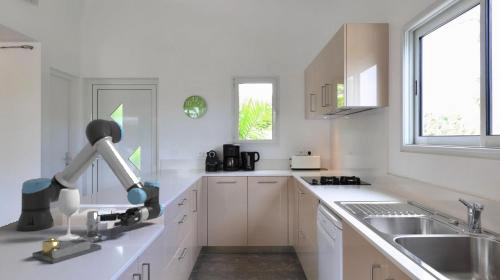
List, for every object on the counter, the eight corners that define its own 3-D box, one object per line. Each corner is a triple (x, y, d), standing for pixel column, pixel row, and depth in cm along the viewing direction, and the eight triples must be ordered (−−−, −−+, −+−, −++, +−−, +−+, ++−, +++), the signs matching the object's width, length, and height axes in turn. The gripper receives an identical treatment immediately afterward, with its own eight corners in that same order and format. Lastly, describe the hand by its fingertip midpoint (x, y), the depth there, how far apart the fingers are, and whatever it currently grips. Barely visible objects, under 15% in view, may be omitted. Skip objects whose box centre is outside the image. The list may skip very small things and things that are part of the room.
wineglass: (69, 241, 132) (70, 190, 132) (51, 240, 133) (52, 190, 134) (84, 236, 140) (85, 188, 141) (67, 235, 142) (68, 187, 142)
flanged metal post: (79, 241, 132) (79, 212, 132) (94, 237, 138) (94, 209, 138) (89, 244, 129) (90, 214, 129) (105, 239, 135) (105, 211, 135)
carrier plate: (31, 256, 113) (31, 238, 113) (79, 243, 129) (80, 227, 129) (53, 263, 106) (53, 244, 107) (101, 249, 122) (101, 232, 122)
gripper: (155, 226, 147) (116, 236, 128) (118, 219, 159) (78, 228, 140) (155, 209, 147) (116, 218, 129) (118, 204, 159) (78, 211, 141)
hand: (96, 223), depth 134 cm, fingers open, 13 cm apart
